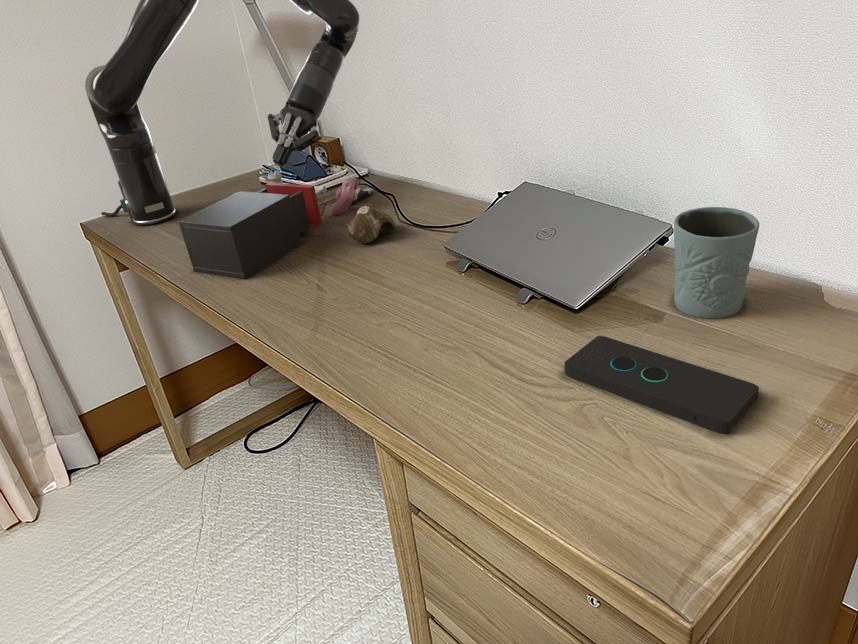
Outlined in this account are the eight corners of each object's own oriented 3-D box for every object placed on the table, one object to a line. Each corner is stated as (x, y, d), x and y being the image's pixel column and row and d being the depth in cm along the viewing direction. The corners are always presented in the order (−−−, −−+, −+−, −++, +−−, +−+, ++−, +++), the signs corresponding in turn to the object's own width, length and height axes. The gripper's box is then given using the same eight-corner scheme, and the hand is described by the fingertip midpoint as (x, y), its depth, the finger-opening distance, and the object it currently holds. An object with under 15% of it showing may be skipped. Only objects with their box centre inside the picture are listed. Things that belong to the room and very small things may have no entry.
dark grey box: (251, 237, 139) (239, 191, 134) (301, 243, 132) (289, 194, 128) (193, 271, 127) (177, 221, 122) (244, 279, 121) (230, 226, 116)
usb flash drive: (350, 205, 148) (350, 201, 147) (332, 203, 150) (331, 199, 150) (374, 192, 154) (374, 187, 153) (356, 190, 156) (355, 186, 156)
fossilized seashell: (381, 210, 135) (338, 234, 132) (381, 188, 130) (336, 212, 126) (404, 236, 133) (360, 260, 129) (405, 214, 127) (360, 239, 123)
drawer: (296, 208, 148) (288, 172, 144) (340, 212, 142) (332, 175, 139) (229, 247, 133) (217, 208, 129) (274, 253, 127) (264, 212, 123)
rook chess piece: (295, 203, 154) (287, 168, 150) (286, 211, 150) (277, 175, 147) (278, 203, 156) (270, 169, 152) (268, 211, 152) (259, 175, 148)
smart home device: (599, 332, 87) (761, 384, 74) (599, 344, 88) (760, 397, 75) (561, 363, 82) (727, 423, 69) (561, 375, 83) (726, 436, 70)
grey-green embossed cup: (692, 280, 100) (697, 201, 94) (763, 298, 93) (773, 214, 87) (655, 309, 94) (658, 227, 88) (728, 330, 87) (737, 242, 81)
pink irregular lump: (350, 221, 144) (359, 191, 140) (329, 214, 143) (337, 184, 140) (354, 203, 152) (363, 174, 149) (334, 196, 152) (343, 167, 148)
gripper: (343, 108, 149) (310, 180, 148) (291, 90, 153) (258, 160, 151) (332, 91, 142) (297, 167, 141) (277, 73, 145) (243, 146, 144)
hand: (277, 163), depth 146 cm, fingers closed
